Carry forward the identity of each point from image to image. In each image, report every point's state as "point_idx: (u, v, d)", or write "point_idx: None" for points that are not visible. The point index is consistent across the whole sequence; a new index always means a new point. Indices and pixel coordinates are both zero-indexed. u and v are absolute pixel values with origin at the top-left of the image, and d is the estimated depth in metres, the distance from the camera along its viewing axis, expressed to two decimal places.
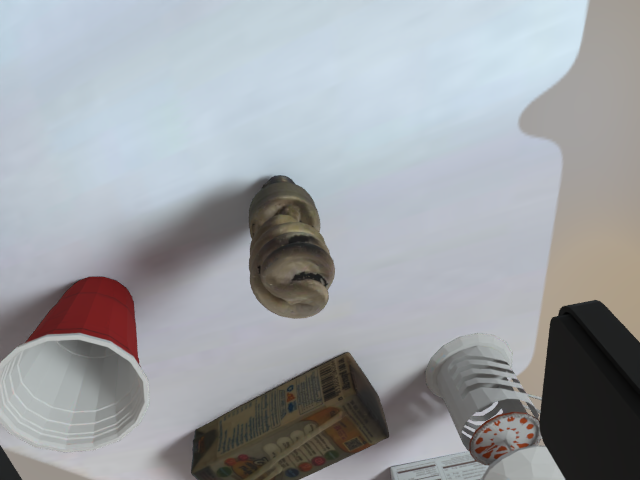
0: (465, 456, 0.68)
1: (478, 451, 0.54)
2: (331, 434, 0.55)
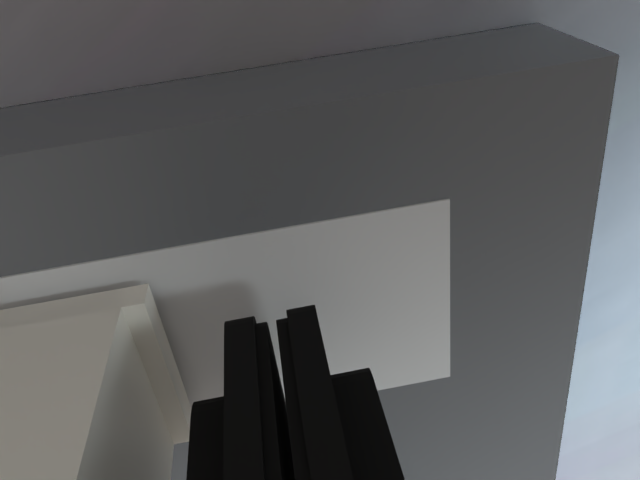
0: None
1: None
2: None
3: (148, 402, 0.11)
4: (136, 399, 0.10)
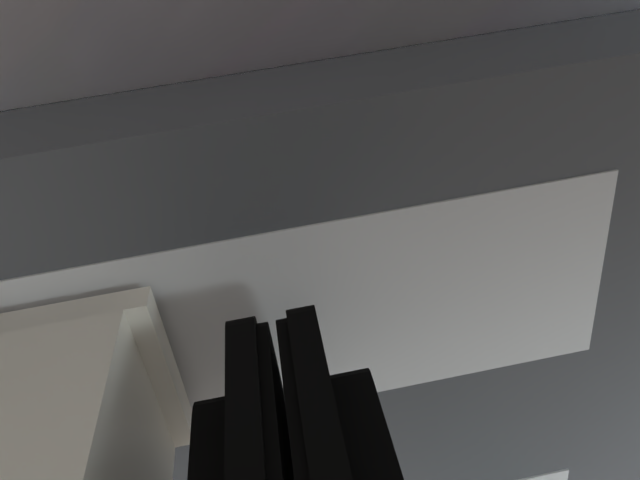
0: None
1: None
2: None
3: (150, 405, 0.10)
4: (139, 401, 0.10)
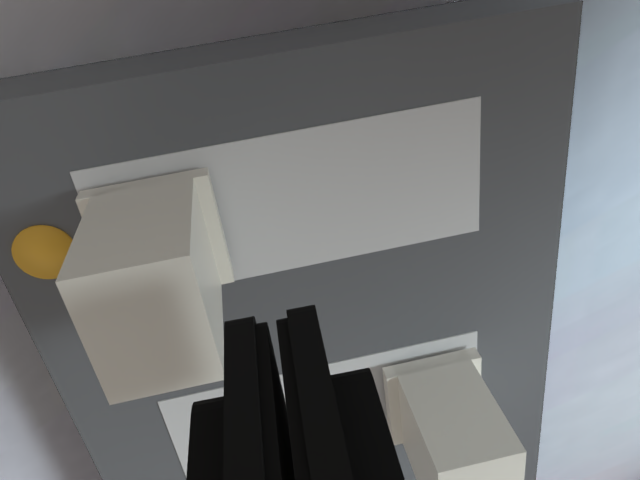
0: None
1: None
2: None
3: (208, 244, 0.16)
4: (204, 235, 0.16)
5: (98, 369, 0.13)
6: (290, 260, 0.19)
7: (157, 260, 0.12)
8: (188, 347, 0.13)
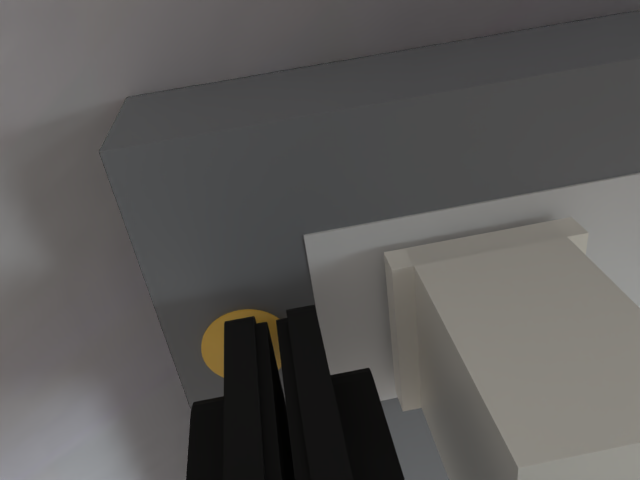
0: None
1: None
2: None
3: None
4: None
5: None
6: None
7: None
8: None
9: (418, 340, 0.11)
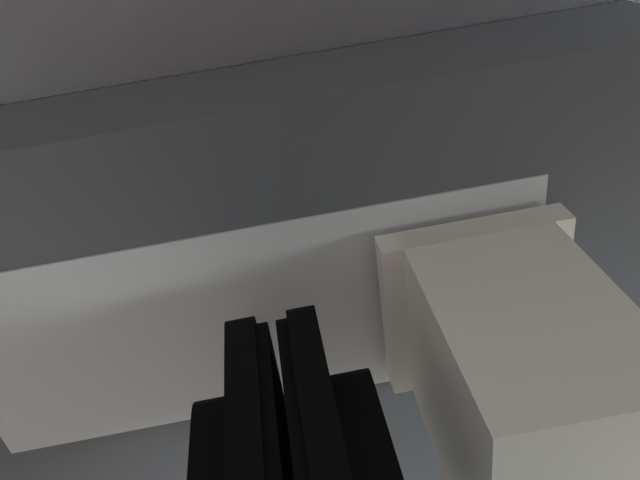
0: None
1: None
2: None
3: None
4: None
5: None
6: None
7: None
8: None
9: (408, 323, 0.11)
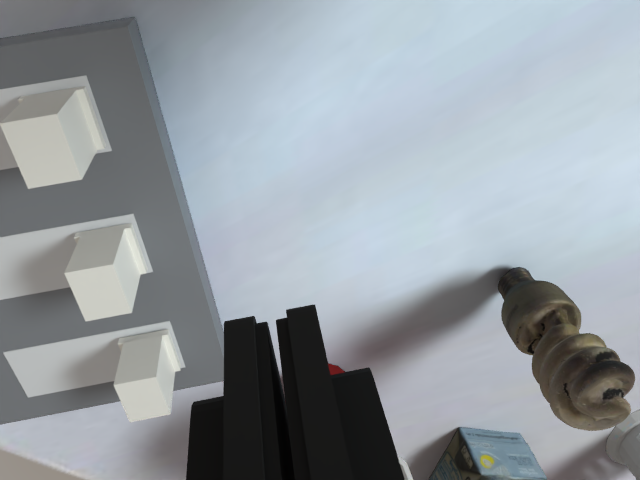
0: None
1: None
2: None
3: (86, 125, 0.32)
4: (80, 118, 0.32)
5: (21, 169, 0.29)
6: (2, 164, 0.34)
7: (43, 116, 0.28)
8: (62, 160, 0.29)
9: None
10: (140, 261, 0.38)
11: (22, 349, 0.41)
